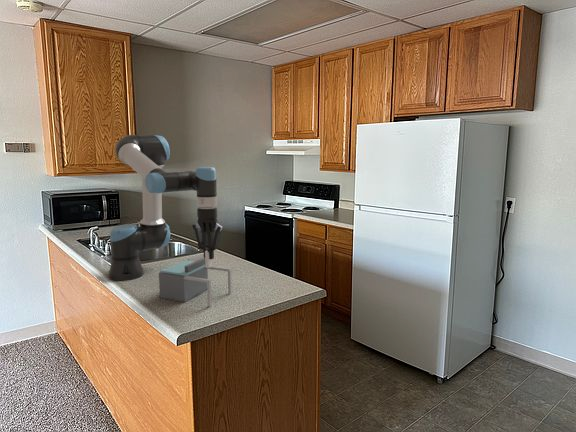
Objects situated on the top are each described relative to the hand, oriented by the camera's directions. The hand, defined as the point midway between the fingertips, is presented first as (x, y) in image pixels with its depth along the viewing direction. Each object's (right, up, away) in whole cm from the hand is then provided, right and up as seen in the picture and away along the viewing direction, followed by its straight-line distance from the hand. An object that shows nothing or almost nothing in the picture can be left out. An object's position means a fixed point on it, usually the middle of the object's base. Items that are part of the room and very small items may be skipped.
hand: (209, 266), depth 160 cm
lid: (-11, -1, +5) cm, 12 cm away
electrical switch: (-12, -8, +31) cm, 34 cm away
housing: (-6, -12, +5) cm, 15 cm away
